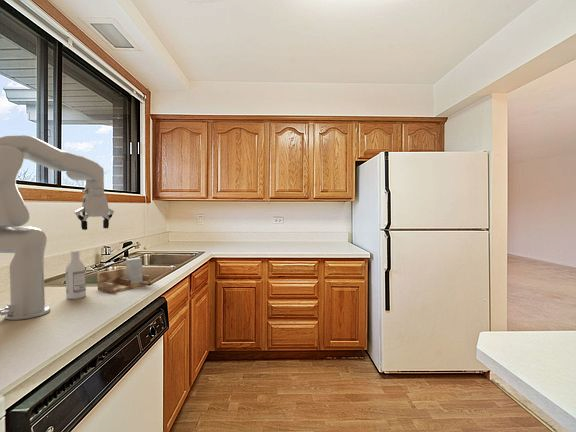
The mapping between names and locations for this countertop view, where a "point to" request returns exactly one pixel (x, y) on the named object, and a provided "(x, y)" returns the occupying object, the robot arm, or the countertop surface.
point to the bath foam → (75, 277)
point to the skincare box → (134, 270)
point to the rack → (118, 281)
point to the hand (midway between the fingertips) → (95, 228)
